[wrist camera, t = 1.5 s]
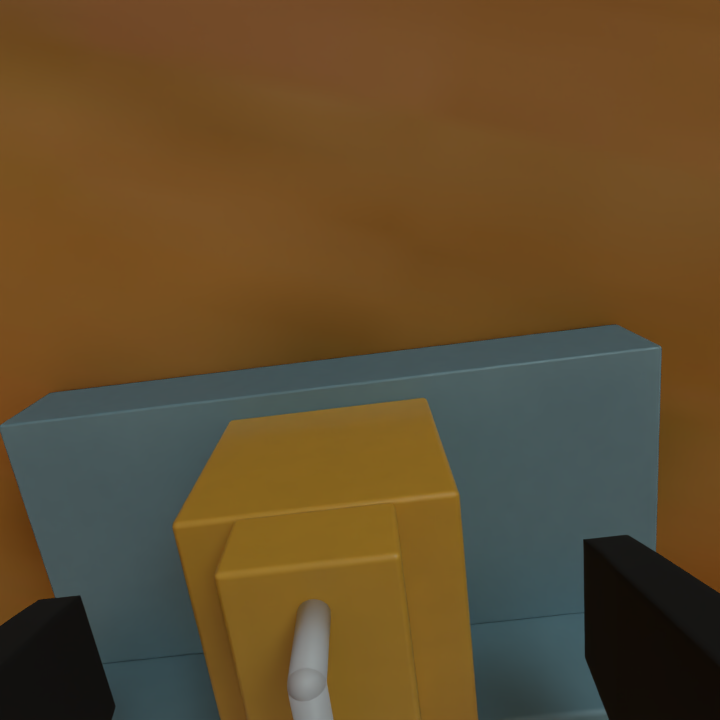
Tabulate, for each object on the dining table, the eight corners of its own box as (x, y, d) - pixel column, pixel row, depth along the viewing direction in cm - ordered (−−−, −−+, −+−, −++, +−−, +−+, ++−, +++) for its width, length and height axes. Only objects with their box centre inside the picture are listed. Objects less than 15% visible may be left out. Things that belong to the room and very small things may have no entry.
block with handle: (446, 607, 11) (528, 976, 6) (271, 626, 11) (196, 1006, 6) (426, 395, 10) (507, 623, 5) (228, 419, 10) (87, 667, 5)
